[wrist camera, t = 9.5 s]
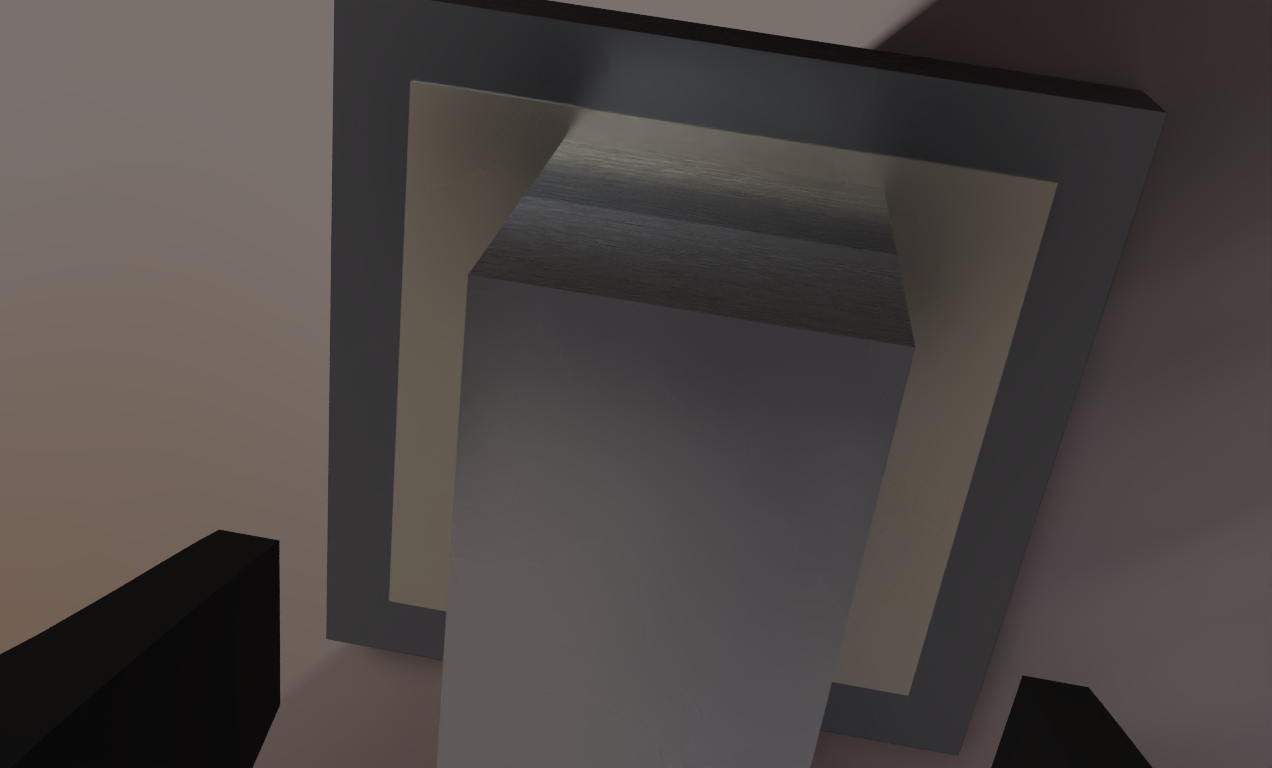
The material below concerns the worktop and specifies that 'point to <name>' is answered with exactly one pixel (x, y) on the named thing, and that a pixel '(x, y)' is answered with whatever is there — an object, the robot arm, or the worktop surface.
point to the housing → (666, 463)
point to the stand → (754, 138)
